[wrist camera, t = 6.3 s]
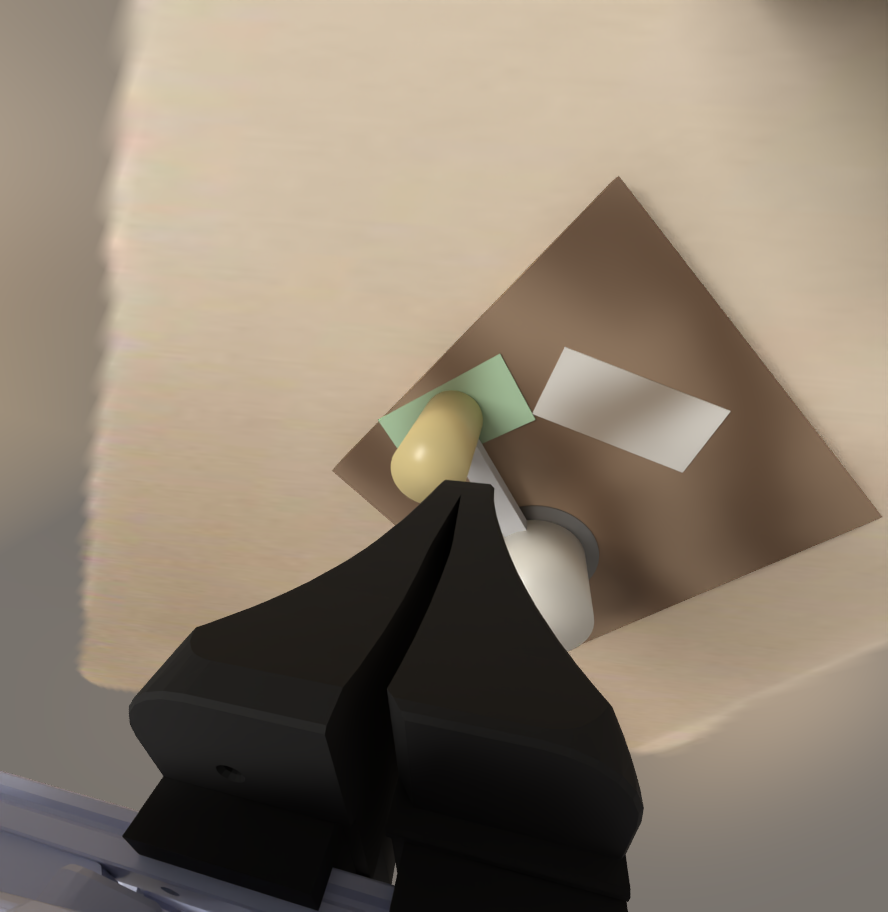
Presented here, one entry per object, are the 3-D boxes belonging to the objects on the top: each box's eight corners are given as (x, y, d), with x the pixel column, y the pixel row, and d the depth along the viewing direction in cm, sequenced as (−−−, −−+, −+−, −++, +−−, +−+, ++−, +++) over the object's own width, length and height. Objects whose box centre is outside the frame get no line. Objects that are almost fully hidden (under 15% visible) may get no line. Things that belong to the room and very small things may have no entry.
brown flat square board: (548, 641, 27) (548, 659, 26) (339, 458, 23) (329, 469, 22) (863, 501, 18) (884, 518, 17) (611, 177, 15) (616, 173, 14)
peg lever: (600, 578, 22) (615, 664, 17) (515, 599, 24) (509, 681, 19) (486, 368, 17) (468, 412, 13) (394, 415, 19) (353, 467, 15)
